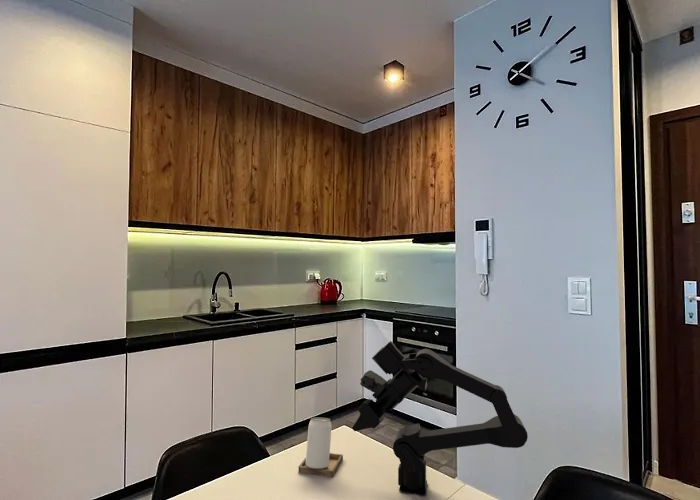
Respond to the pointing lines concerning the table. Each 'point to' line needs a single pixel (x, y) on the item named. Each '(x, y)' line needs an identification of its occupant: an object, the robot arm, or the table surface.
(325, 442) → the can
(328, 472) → the wooden tray
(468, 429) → the robot arm
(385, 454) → the table surface
